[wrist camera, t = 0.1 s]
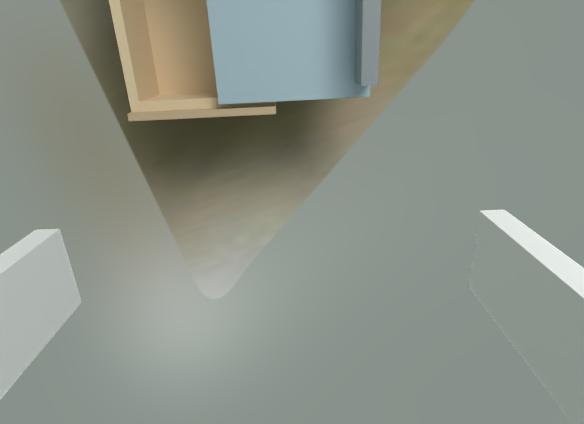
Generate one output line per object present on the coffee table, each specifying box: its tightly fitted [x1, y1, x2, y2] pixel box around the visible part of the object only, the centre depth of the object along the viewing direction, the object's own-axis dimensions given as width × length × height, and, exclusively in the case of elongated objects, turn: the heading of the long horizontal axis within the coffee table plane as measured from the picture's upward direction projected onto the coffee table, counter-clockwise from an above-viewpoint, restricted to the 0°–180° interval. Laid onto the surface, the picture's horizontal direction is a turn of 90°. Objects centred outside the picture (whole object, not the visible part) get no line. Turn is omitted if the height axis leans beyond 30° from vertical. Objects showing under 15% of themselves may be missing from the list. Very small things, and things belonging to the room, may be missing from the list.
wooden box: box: [109, 0, 277, 121], centre depth 31 cm, size 17×12×7 cm
